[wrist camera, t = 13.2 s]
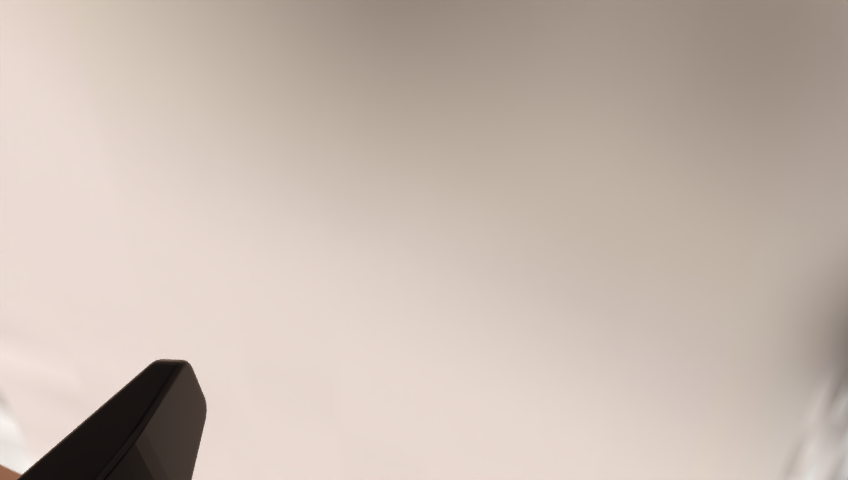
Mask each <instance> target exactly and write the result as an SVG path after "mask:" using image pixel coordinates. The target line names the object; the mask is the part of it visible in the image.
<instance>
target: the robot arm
mask: <svg viewBox="0 0 848 480" xmlns="http://www.w3.org/2000/svg"><path fill="white" fill-rule="evenodd" d="M206 412H207V408H206V400H205V397H204V395H203V392H202V390H201V387H200V385H199V383H198V380H197V378H196V375H195V373H194V371H193V368H192V366H191V364H189V363H188V362H187V361H185V360H171V359H160V360H156V361H154V362H153V363H151V364H150V365H149V366H148V367H146V368H145V369H144V370H143V371H142V372H141V373H139V374H138V375H137V376H136V377H135V378H134V379H132V380H131V381H130V382H129V383H128V384H127V385H126V386H124V387H123V388H122V389H121V390H120V391H119V392H117V393H116V394H115V395H114V396H113V397H112V398H110V399H109V400H108V401H107V402H106V403H105V404H103V405H102V406H101V407H100V408H99V409H98V410H97V411H95V412H94V413H93V414H92V415H91V416H90V417H88V418H87V419H86V420H85V421H84V422H83V423H81V424H80V425H79V426H78V427H77V428H76V429H75V430H73V431H72V432H71V433H70V434H69V435H68V436H66V437H65V438H64V439H63V440H62V441H61V442H59V443H58V444H57V445H56V446H55V447H54V448H53V449H51V450H50V451H49V452H48V453H47V454H46V455H44V456H43V457H42V458H41V459H40V460H39V461H37V462H36V463H35V464H34V465H33V466H32V467H31V468H29V469H28V470H27V471H26V472H25V473H24V474H22V475H21V476H20V477H19V478H18V479H17V480H192V475H193V471H194V467H195V462H196V458H197V454H198V449H199V445H200V441H201V437H202V432H203V428H204V424H205V419H206Z"/></svg>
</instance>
